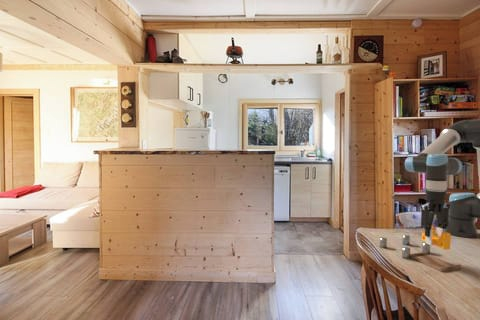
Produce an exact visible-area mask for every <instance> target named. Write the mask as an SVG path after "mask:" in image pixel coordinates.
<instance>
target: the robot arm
mask: <svg viewBox="0 0 480 320" xmlns="http://www.w3.org/2000/svg"><path fill="white" fill-rule="evenodd" d="M439 134H440V135H439V136H438V137H437V138H435V140H433V142H431V143H430V144H429V145H427V146H426V148H424V149H423V150H422V151H421V152H420V153H419V154H417V155H416V156H408V157H407V158H406V159H405V160H404V167H405V170H406V171H407V172H409V173H415V174H416V173H418V174H419V173H420V174H425V189H426V190H425V199H426V202H425V204H420V209H421V214H420V215H421V216H420V227H421V228H422V229H424V233H425V236H426V240H425V243H427V244H429V245H430V246H433V245H432V236H433V230H431V227H432V226H433V223H434V218H435V216H436V223H437V227H435V228H436V229H435V233H436V235H437V237H438V238H440V236H441V233H444V232H447V233H450V234H451V236H454V237H455V236H456V237H459V238H477V237H478V230H477V227H476V224H475V219H479V220H480V192H478V193H477V194H476V193H473V192H455V193H454V192H453V193H451V194H450V195H449V198H448V199H449V200H448V203H446V202H445V201H446V200H447V186H448V184H447V183H448V179H447V178H448V176H454V175H457V174H459V173H460V172H461V171H462V169H463V163H462V161H461V160H460V159H458V158H456V157H448V155H447V154H445V153H446V152H447V151H449V150H450V149H451V148H452V147H453V146H458V144H460V143H472V147H473V148H474V149H476V155H477V156H476V158H477V171H478V172H477V173H478V184H479V185H478V187H479V189H480V118H479V119H477V118H475V119H465V120H464V119H463V120H460V121H457V122H454V123H453V124H451V125H449V126H447V127H446V128H444V129H443V130H442V131H441V132H440V133H439Z"/></svg>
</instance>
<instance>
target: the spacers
mask: <svg viewBox="0 0 480 320" xmlns="http://www.w3.org/2000/svg"><path fill="white" fill-rule="evenodd" d="M410 238H411V236H410V235H408V234H402V245H404V246H402V247H401V250H402V251H401V258H402V259H405V260H410V259H411V258H410V254H411V248H410V247H407V246H410V244H411V241H410V240H411V239H410ZM387 240H388V239H387V238H386V237H385V236H384V237H383V236H382V237H379V248H381V249H387V248H388V247H387V246H388V245H387V244H388V243H387V242H388V241H387ZM421 247H422V248H421V253H422V252H428V254H429V255H431V245H429V244H427V243H425V242H424V241H422V243H421Z"/></svg>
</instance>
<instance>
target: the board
mask: <svg viewBox="0 0 480 320" xmlns="http://www.w3.org/2000/svg"><path fill="white" fill-rule="evenodd" d="M410 259H412V260H415V261H417V262H419V263H421V264H424V265H426V266H427V267H429V268H432V269H434V270H437V271H438V272H441V273H442V272H449V271H455V270H461V264H457V265H456V264H453V263H450V262H447V261H445V260H442V259H441V258H438V257H436V256H434V255H431V254H428V252H422V251H421V252H415V253H410Z"/></svg>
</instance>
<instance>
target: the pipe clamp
mask: <svg viewBox="0 0 480 320" xmlns="http://www.w3.org/2000/svg"><path fill="white" fill-rule="evenodd" d="M431 230H433V236H432V245H431V246H436V247H439V248H440V249H442V250H451V239H452V237H451V236H452V235H451V234H450V233H447V232H445V231H444V233H441V236H440V238H438V237H437V235H436V229H435V226H433V225H432V227H431ZM425 240H426V236H425V232H421V241H422V242H425Z"/></svg>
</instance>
